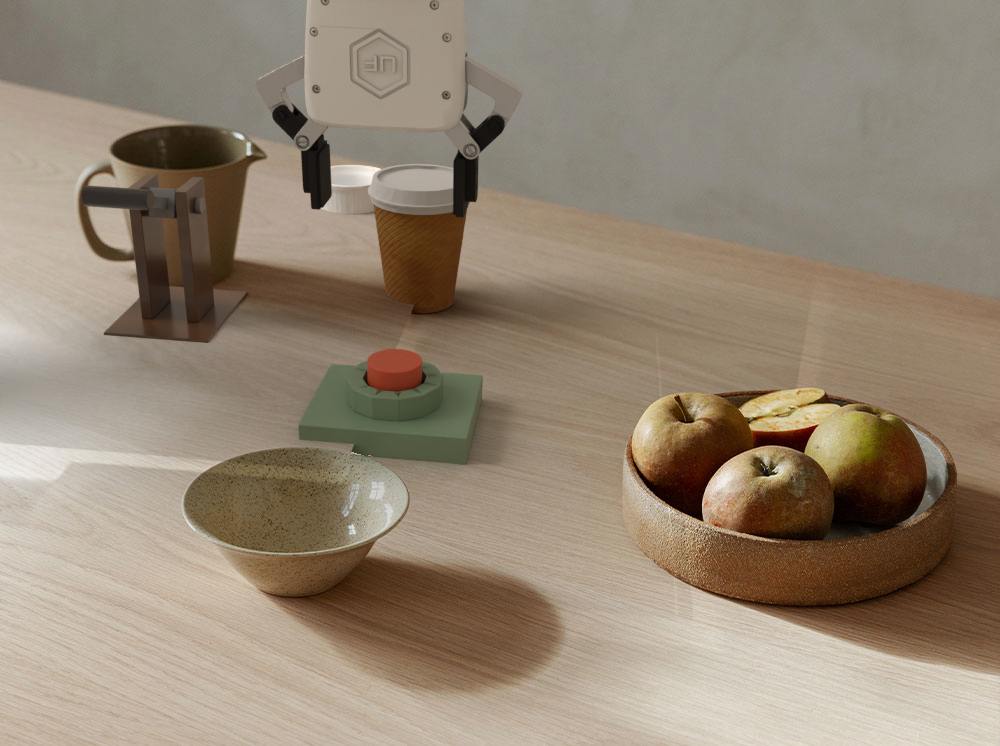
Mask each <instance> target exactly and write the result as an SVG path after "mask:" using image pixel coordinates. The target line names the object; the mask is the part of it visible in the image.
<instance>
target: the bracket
mask: <svg viewBox="0 0 1000 746" xmlns="http://www.w3.org/2000/svg"><path fill="white" fill-rule="evenodd" d="M159 182H160V181H159V175H158V174H153V173H146V174H145V175H143V176H142V177H141V178H139V179H138V180H137V181H135V182H134V183H132V184H131V185H130V186H128V188H133V189H148V190H149V188H160V183H159ZM205 187H206V186H205V178H204V177H202V176H199V177H198V176H192V177H191V178H190V179H188V180H187V181H186V182H185V183H183V184H182V185H181V186H180V187H178V188H176V189H177V190H176V191H175V203H176V213H177V219H176V223H177V234H178V243H179V253H180V264H181V272H182V273H181V275H182V284H183V285H182V286H172V285H170V279H169V269H168V260H167V251H166V241H165V231H164V222H163V221H164V219H163V218H160V217H149V211H147V210H132V209H128V210H129V211H128V212H129V219H130V229H131V236H132V237H131V239H132V246H133V255H134V261H135V271H136V280H137V289H138V296H139V297H138V299H137V300H136V301H134V302H133V303H132V304H131V305H130V306H129V307H128V308H127V309H126V310H125V311H124V312H123V313H122V314H121V315H120V316H119V317H118V318H117V319H116V320H115V321H114V322H113V323H111V325H110V326H109V327H108V328H107V329H106V330H104V331H103V336H111V337H125V338H138V339H153V340H163V341H176V342H177V341H178V342H190V343H203V344H204V343H205V344H208V343H210V341H212V339H213V338H214V337H215V335H216V334H217V332H218V331H219V330H220V329H221V327H222V326H223V325H224V324H225V323H226V321H227V320H228V319H229V318H230V317H231V316H232V315H233V313H234V311H236V309H237V308H238V307H239V305H240V304H241V303H242V301H243V300H244V299H245V298H246V296H247V295H248V291H243V290H229V289H228V290H227V289H216V288H214V284H213V283H214V282H213V270H212V259H211V248H210V236H209V223H208V212H207V211H208V210H207V199H206V188H205Z"/></svg>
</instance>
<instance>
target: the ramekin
mask: <svg viewBox="0 0 1000 746" xmlns="http://www.w3.org/2000/svg"><path fill="white" fill-rule="evenodd" d="M381 169H382V168H379V167H375V166H371V165H362V164H339V165H331V187H332V195H331V198H330V199H329V200H328V202H327V203H326V204H325V206H324V207H323V208H321V209H320V210H323V211H325V212H329V213H335V214H340V215H362V214H363V215H364V214H369V213H371V214H372V213H375V212H374V205H373V203H372V201H371V197H370V196H369V194H368V188H369V186H370V185H371V183H372V178H373V175H374V173H376V172H377V171H379V170H381Z"/></svg>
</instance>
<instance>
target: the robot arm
mask: <svg viewBox="0 0 1000 746" xmlns="http://www.w3.org/2000/svg"><path fill="white" fill-rule="evenodd" d="M464 3H465V2H464V0H306V11H305V12H306V13H305V31H304V32H305V34H304V54H302V55H300V56H298V57H296V58H295V59H292V60H290V61H288V62H286V63H285V64H283V65H281V66H278V67H277V68H275V69H273V70H271V71H268V72H267V73H265V74H263V75H262V76H260V77H259V78H258V79H257V80H256V81H255V86H256V89H257V91H258V93H259V95H260V96H261V98H262V100H263V102H264V103H265V105H266V107H267V109H269V111H270V112H271V116H272V120H273V121H274V123H275V124H276V125H277V126H278V127H279V128H280V129H281V130H282V131H283V132H285V134H286V135H287V136H288V137H289V138H290V139H291V140H292V141H293V144H294V147H295V148H296V149H297V150H299V151H300V158H301V159H300V160H301V177H302V190H303V193H304V194H309V197H310V209H311V210H322V209H321V208H323V207H324V206H325V204H326V203H327V202H328V200H329V199H330V198H331V195H332V187H331V166H332V165H331V145H330V143H328V140H327V139H325V135H324V133H325V132H326V131H327V130H328V129H329V128H336V129H348V130H349V129H352V130H368V131H369V130H370V131H387V132H388V131H389V132H408V133H409V132H411V133H412V132H413V133H414V132H415V133H440V132H441V133H442V132H444V134H445V135H446V136H447V138H448V139H449V140H450V141H451V142H452V144H453V145H454V146H455V147H456V149H457V153H456V155H455V157H454V158H453V165H452V166H453V167H452V168H453V215H456V217H462V218H464V216H465V213H466V211H467V212H468V208H469V205H470V203H477V201H478V196H479V160H480V159H479V155H480V154H481V153H482V152H483V151H484V150H485V149H486V148H487V147H488V146H489V145H490V144H492V143H493V142H494V141H495V140H496V139H497V138H498V137H499V136H500V135H501V134H503V132H504V130H505V128H506V126H507V124H508V123H509V121H510V120H511V118H512V116H513V114H514V112H515V110H516V109H517V107H518V105H519V103H520V102H521V99H522V96H523V90H522V88H521V87H520V86H519V85H517V84H515V83H514V82H513V81H511V80H509V79H507V78H505V77H503V76H502V75H500V74H498V73H497V72H496V71H493V70H491V69H490V68H488V67H486V66H484V65H483V64H481V63H480V62H478V61H476V60H474V59H473V58H471V57H469V56H468V40H467V27H466V16H465V14H466V13H465V4H464ZM302 79H304V80H303V81H304V82H303V83H304V104H305V109H306V113H307V115H308V117H309V118H307V117H306V116H305V114H303V112H301V110H300V109H298V107H297V106H296V105H295V104H294V103H293V102H291V100H290V98H289V95H288V92H287V87H288V86H290V85H292V84H294V83H295V82H296V83H297V82H299V81H300V80H302ZM469 85H470V86H471V87H474V88H475V89H477V90H479V91H480V92H483V93H484V94H486V95H487V96H489V97H490V98H492V99H493V100H494V104H495V105H494V107H493V108H492V111H491V112H490V114H489V115H488V116H487V117H486V118H484V120H483V121H482V122H481V123H479V124H478V125H477V126H476V125H475V123H474V122H473V121H472V119H470V117H469V116H468V115H467V114H466V112H465V110H466V108H467V105H468V98H469V97H468V96H469ZM469 202H470V203H469ZM466 214H467V213H466Z"/></svg>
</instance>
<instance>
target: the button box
mask: <svg viewBox="0 0 1000 746" xmlns="http://www.w3.org/2000/svg"><path fill="white" fill-rule="evenodd" d="M483 380H484V376H483V375H480V374H469V373H456V372H443V371H440V370H439V369H438V367H437V366H436V365H435V364H432V363H429V362H427V361H424V360H422V383H421V385H420V386H418V387H416V388H414V389H411V390H405V391H399V392H396V391H383V390H378V389H375V388H373V387H370V386H369V384H368V381H367V360H365V361H363V362H361V363H359V364H357V365H351V364H340V363H339V364H338V363H331V364H330V365H329V367H328V369H327V371H326V373H325V375H324V377H323V378H322V379H321V382H320V384H319V386H318V388H317V389H316V391H315V393H314V395H313V397H312V398H311V400H310V402H309V404H308V406H307V408H306V410H305V411H304V414H303V415H302V417H301V418H300V421H299V423H298V424H297V425H298V427H297V428H298V440H300V441H311V442H323V443H335V444H347V445H348V444H349V445H353V446H352V448H351V451H350V453H351V452H354V453H357V454H361V455H364V456H363V457H370V456H368V455H371V456H373V457H372V458H381V459H382V458H383V459H395V460H408V461H421V462H431V463H432V462H433V463H442V464H443V463H444V464H455V465H456V464H457V465H467V464H468V460H469V455H470V452H471V447H472V442H473V438H474V435H475V429H476V427H477V422H478V417H479V414H480V409H481V406H482V402H483V384H484V383H483V382H484V381H483ZM370 458H371V457H370Z"/></svg>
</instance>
